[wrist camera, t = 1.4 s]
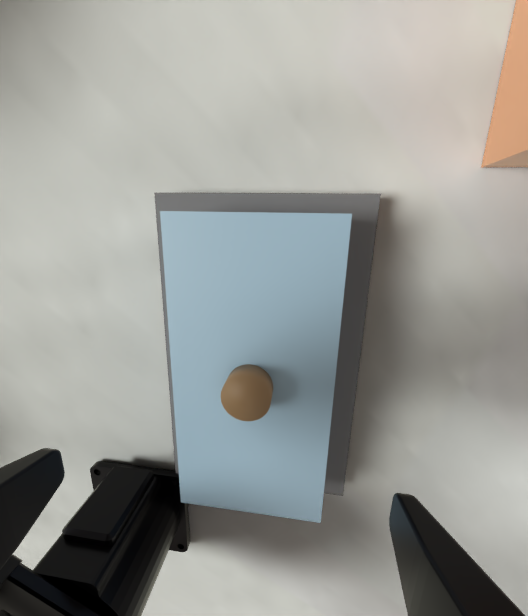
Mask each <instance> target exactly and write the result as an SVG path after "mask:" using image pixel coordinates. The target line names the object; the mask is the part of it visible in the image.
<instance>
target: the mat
mask: <svg viewBox="0 0 528 616" xmlns="http://www.w3.org/2000/svg"><path fill="white" fill-rule="evenodd" d="M380 195H381V194H312V193H155V204H156V218H157V231H158V244H159V258H160V271H161V284H162V297H163V311H164V324H165V337H166V351H167V364H168V377H169V390H170V404H171V417H172V430H173V444H174V457H175V470H176V473H178V474H179V470H178V456H177V442H176V428H175V414H174V400H173V386H172V372H171V358H170V344H169V330H168V316H167V302H166V288H165V274H164V260H163V246H162V232H161V218H160V211H194V212H268V213H342V214H352V220H351V229H350V239H349V249H348V259H347V269H346V279H345V289H344V298H343V308H342V318H341V328H340V338H339V348H338V358H337V367H336V377H335V387H334V397H333V407H332V417H331V426H330V436H329V446H328V456H327V466H326V476H325V486H324V493H327V494H334V495H341V496H343V491H344V483H345V475H346V467H347V459H348V451H349V443H350V435H351V427H352V419H353V411H354V403H355V395H356V387H357V379H358V371H359V363H360V355H361V347H362V339H363V331H364V323H365V315H366V307H367V299H368V291H369V283H370V275H371V267H372V259H373V251H374V243H375V235H376V227H377V219H378V211H379V203H380Z"/></svg>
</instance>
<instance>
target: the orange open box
mask: <svg viewBox="0 0 528 616" xmlns="http://www.w3.org/2000/svg"><path fill="white" fill-rule="evenodd" d="M481 167H528V0H516V4H515V9H514V13H513V18H512V23H511V28H510V33H509V37H508V42H507V47H506V52H505V56H504V61H503V66H502V71H501V76H500V80H499V85H498V90H497V95H496V99H495V104H494V109H493V114H492V119H491V123H490V128H489V133H488V138H487V142H486V147H485V152H484V157H483V162H482V166H481Z"/></svg>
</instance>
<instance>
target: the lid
mask: <svg viewBox="0 0 528 616" xmlns="http://www.w3.org/2000/svg"><path fill="white" fill-rule="evenodd" d="M160 218H161V232H162V246H163V260H164V274H165V288H166V302H167V316H168V330H169V344H170V358H171V372H172V386H173V400H174V414H175V428H176V442H177V456H178V470H179V484H180V497H181V502H182V503H189V504H195V505H202V506H209V507H216V508H223V509H229V510H236V511H243V512H250V513H256V514H263V515H270V516H277V517H283V518H290V519H297V520H304V521H311V522H317V523H321V515H322V505H323V495H324V486H325V476H326V466H327V456H328V446H329V436H330V426H331V417H332V407H333V397H334V387H335V377H336V367H337V358H338V348H339V338H340V328H341V318H342V308H343V298H344V289H345V279H346V269H347V259H348V249H349V239H350V229H351V220H352V214H342V213H268V212H194V211H160Z"/></svg>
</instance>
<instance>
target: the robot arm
mask: <svg viewBox="0 0 528 616" xmlns="http://www.w3.org/2000/svg"><path fill="white" fill-rule="evenodd" d="M90 472H91V478H92V484H93V489H94V491H93V493H92V494H91V495H90V496H89V497H88V499H87V500H86V501H85V502H84V504H83V505H82V506H81V507H80V508H79V510H78V511H77V512H76V513H75V515H74V516H73V517H72V518H71V520H70V521H69V522H68V523H67V524H66V526H65V527H64V529H63V530H62V532H63V533H62V534H61V536H60V537H59V538H58V539H57V541H56V542H55V543H54V544H53V546H52V547H51V548H50V549H49V551H48V552H47V553H46V554H45V556H44V557H43V558H42V559H41V561H40V562H39V563H38V564H37V566H36V567H35V568H34V569H33V570H31V569H29V568H28V567H26V566H25V565H23V564H21V562H22V560H21V559H19V558H18V557H16V556H15V555H12V554H13V553H14V551H15V550H16V549H17V547H18V546H19V544H20V543H21V542H22V540H23V539H24V537H25V536H26V534H27V533H28V532H29V530H30V529H31V527H32V526H33V524H34V523H35V521H36V520H37V518H38V517H39V515H40V514H41V512H42V511H43V509H44V508H45V506H46V505H47V504H48V502H49V501H50V499H51V498H52V496H53V495H54V493H55V492H56V490H57V489H58V487H59V486H60V484H61V483H62V481H63V478H64V467H63V462H62V457H61V453H60V451H59V450H57V449H49V448H44V449H40V450H38V451H36V452H34V453H32V454H29V455H27V456H25V457H23V458H21V459H19V460H16V461H14V462H12V463H10V464H8V465H6V466H3V467H1V468H0V616H141V615H142V612H143V610H144V607H145V605H146V603H147V600H148V598H149V596H150V593H151V591H152V588H153V586H154V584H155V581H156V579H157V576H158V574H159V572H160V569H161V567H162V565H163V562H164V560H165V557H166V555H167V553H168V550H173V551H179V552H185V551H187V549H188V546H189V544H190V535H189V519H188V503H182V502H181V497H180V484H179V474H178V473H176V471H169V470H162V469H154V468H147V467H139V466H132V465H124V464H117V463H109V462H102V461H98V462H96V463H95V464H94V465H93V466H92V467H91V469H90ZM389 525H390V532H391V537H392V541H393V546H394V551H395V556H396V561H397V565H398V570H399V575H400V580H401V585H402V589H403V594H404V599H405V603H406V608H407V612H408V616H525V615H524V614H523V613H522V612H521V611H520V610H519V609H518V607H517V606H516V605H515V604H514V603H513V602H512V601H511V600H510V599H509V598H508V597H507V596H506V595H505V593H504V592H503V591H502V590H501V589H500V588H499V587H498V586H497V585H496V584H495V583H494V582H493V581H492V579H491V578H490V577H489V576H488V575H487V574H486V573H485V572H484V571H483V570H482V569H481V568H480V567H479V565H478V564H477V563H476V562H475V561H474V560H473V559H472V558H471V557H470V556H469V555H468V554H467V553H466V551H465V550H464V549H463V548H462V547H461V546H460V545H459V544H458V543H457V542H456V541H455V540H454V539H453V537H452V536H451V535H450V534H449V533H448V532H447V531H446V530H445V529H444V528H443V527H442V526H441V525H440V523H439V522H438V521H437V520H436V519H435V518H434V517H433V516H432V515H431V514H430V513H429V512H428V511H427V509H426V508H425V507H424V506H423V505H422V504H421V503H420V502H419V501H418V500H417V499H416V498H415V497H414V496H412V495H409V494H401V493H396V494H395V495H394V497H393V502H392V507H391V513H390V518H389ZM11 555H12V556H11Z"/></svg>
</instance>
